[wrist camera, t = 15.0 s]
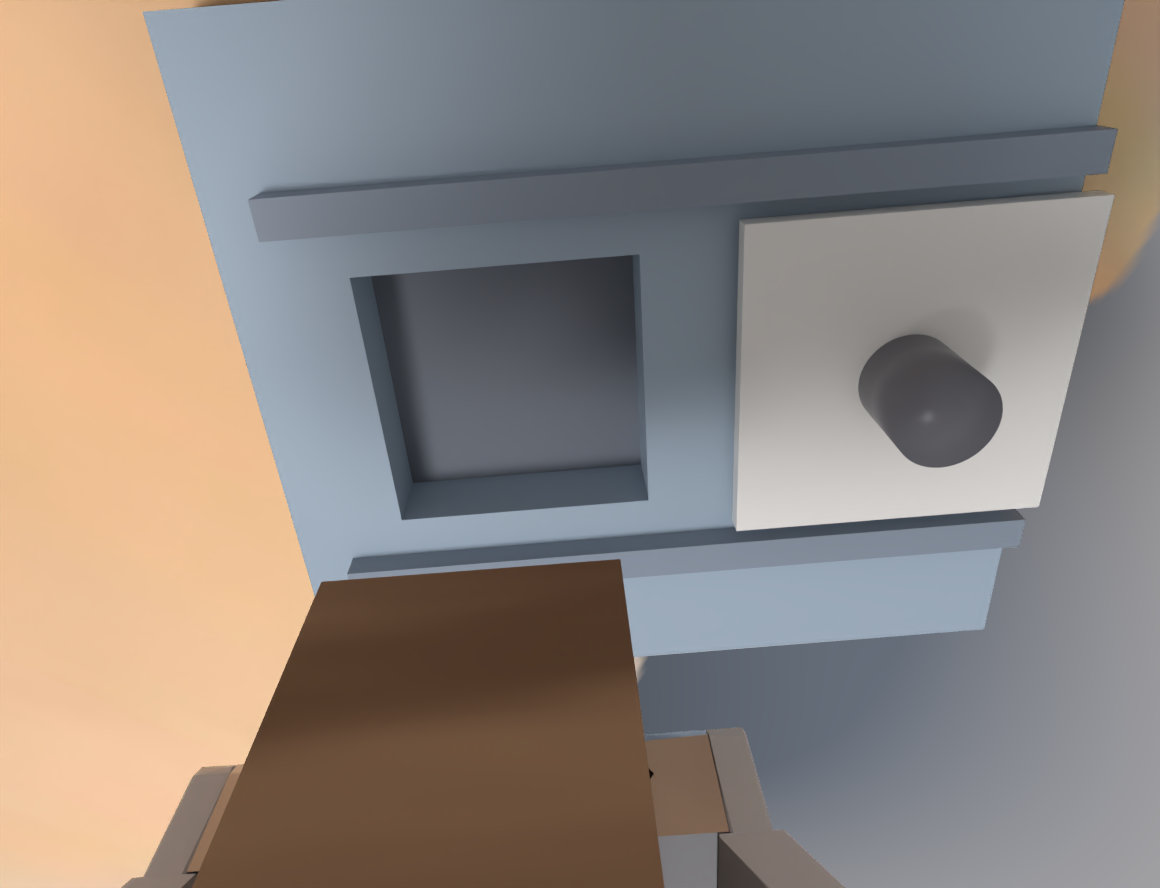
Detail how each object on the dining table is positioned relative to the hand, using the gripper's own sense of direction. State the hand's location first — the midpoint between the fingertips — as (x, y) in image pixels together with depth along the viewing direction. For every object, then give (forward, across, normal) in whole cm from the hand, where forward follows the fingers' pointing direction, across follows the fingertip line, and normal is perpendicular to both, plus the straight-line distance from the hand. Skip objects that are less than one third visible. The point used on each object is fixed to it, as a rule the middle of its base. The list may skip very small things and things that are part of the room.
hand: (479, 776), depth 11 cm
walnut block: (+2, 0, 0) cm, 2 cm away
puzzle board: (+15, -4, 0) cm, 15 cm away
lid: (+12, -11, 0) cm, 16 cm away
